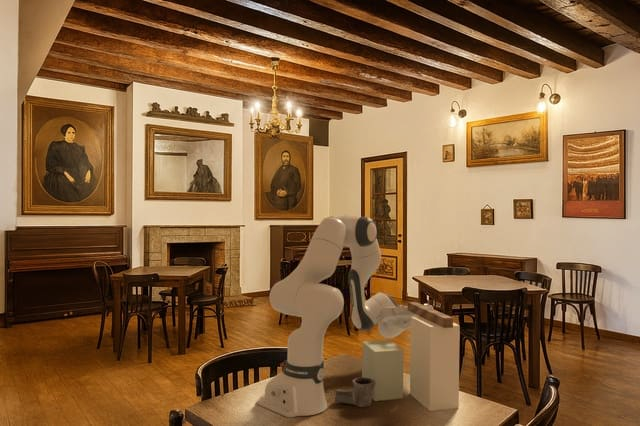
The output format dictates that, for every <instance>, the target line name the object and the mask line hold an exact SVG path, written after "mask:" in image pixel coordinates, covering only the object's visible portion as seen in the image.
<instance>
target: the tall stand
mask: <svg viewBox="0 0 640 426" xmlns="http://www.w3.org/2000/svg"><path fill="white" fill-rule="evenodd" d="M460 326H461V325H459V324H457V323H456V322H453V328H443V327H441V326H439V325H437V324H435V323H433V322H431V321H429V320H427V319H425V318H422V317H411V328H410V353H409V354H410V357H409V359H410V362H409V363H410V366H409V367H410V369H409V371H410V372H409V373H410V374H409V377H410V378H409V394H410V395H411V396H412V397H413V398H414V399H416V400H417V401H418V402H419V403H420V404H421V405H422V406H423V407H424V408H426V409H427V410H428V411H429V412H433V411H434V412H435V411H443V410H455V409H459V407H460V405H459V404H460V401H459V399H460V336H461V335H460V330H461V329H460V328H461V327H460Z"/></svg>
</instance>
